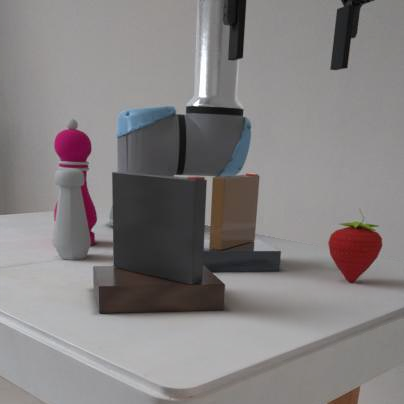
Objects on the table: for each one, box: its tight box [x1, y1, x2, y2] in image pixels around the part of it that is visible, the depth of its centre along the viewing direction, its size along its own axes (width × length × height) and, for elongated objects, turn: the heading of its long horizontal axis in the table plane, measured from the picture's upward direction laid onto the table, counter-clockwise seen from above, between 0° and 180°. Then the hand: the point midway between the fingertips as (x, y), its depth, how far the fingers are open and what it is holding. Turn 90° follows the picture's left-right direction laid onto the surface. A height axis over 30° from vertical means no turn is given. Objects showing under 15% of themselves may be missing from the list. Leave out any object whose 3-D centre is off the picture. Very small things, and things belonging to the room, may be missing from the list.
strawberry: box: [327, 208, 383, 283], centre depth 78 cm, size 6×8×10 cm
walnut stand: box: [92, 265, 226, 314], centre depth 66 cm, size 14×10×3 cm
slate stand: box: [203, 238, 282, 273], centre depth 87 cm, size 12×10×3 cm
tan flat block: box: [209, 172, 260, 250], centre depth 85 cm, size 11×2×10 cm, turn 149°
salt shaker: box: [52, 168, 92, 261], centre depth 85 cm, size 6×6×13 cm
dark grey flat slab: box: [111, 171, 208, 285], centre depth 64 cm, size 12×2×11 cm, turn 54°
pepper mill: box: [53, 118, 98, 246], centre depth 95 cm, size 7×7×20 cm
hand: (288, 64), depth 67 cm, fingers open, 13 cm apart
